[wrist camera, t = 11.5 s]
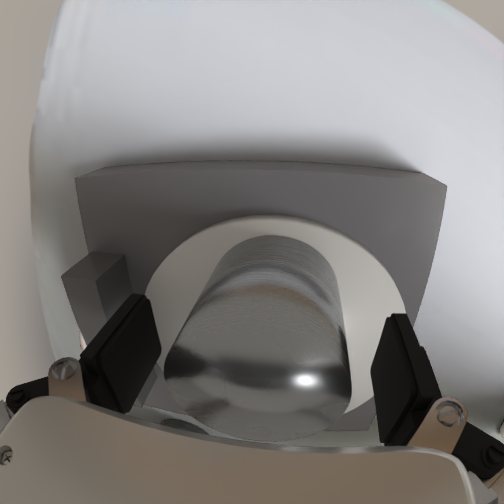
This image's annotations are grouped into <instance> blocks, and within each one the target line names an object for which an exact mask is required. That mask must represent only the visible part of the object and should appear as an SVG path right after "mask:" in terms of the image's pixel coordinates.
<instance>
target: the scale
mask: <svg viewBox="0 0 504 504" xmlns="http://www.w3.org/2000/svg"><path fill="white" fill-rule="evenodd" d="M75 182H76V189H77V196H78V202H79V207H80V213H81V218H82V224H83V229H84V233H85V238H86V243H87V247H88V251H89V254H88V255H87V256H86V257H84V258H83V259H82V260H81V261H79V262H78V263H77V264H75V265H74V266H73V267H72V268H70V269H69V270H68V271H67V272H65V273H64V274H63V275H62V276H61V278H62V281H63V284H64V287H65V290H66V293H67V296H68V299H69V302H70V305H71V307H72V310H73V313H74V316H75V318H76V321H77V323H78V326H79V329H80V332H79V335H80V343H81V345H80V346H81V348H82V349H83V351H84V349H85V348H86V347H87V346H88V344H89V343H90V342H91V341H92V339H93V338H94V337H95V336H96V335H97V333H98V332H99V331H100V330H101V329H102V327H103V326H104V325H105V324H106V323H107V321H108V320H109V319H110V318H111V317H112V315H113V314H114V313H115V312H116V311H117V310H118V308H119V307H120V306H121V305H122V304H123V303H124V301H125V300H126V299H127V298H128V297H129V296H130V295H131V294H132V293H135V294H143V295H146V297H147V299H149V300H150V302H151V306H152V310H153V315H154V319H155V323H156V327H157V331H158V335H159V339H160V343H161V347H162V351H161V355H160V357H159V359H158V360H157V362H156V364H155V366H154V368H153V369H152V371H151V373H150V375H149V377H148V378H147V380H146V382H145V384H144V386H143V388H142V389H141V391H140V393H139V395H138V397H137V399H136V400H135V402H134V404H133V405H135V406H138V407H142V406H143V404H144V405H147V406H151V407H155V408H159V409H163V410H167V411H171V412H175V413H180V414H184V415H189V414H188V413H187V412H186V411H185V410H184V409H183V408H182V407H181V406H180V405H179V404H178V403H177V402H176V401H175V399H174V398H173V397H172V395H171V393H170V392H169V390H168V388H167V385H166V383H165V378H164V363H165V359H166V357H167V354H168V352H169V350H170V349H171V347H172V345H173V343H174V341H175V339H176V338H177V336H178V334H179V332H180V330H181V328H182V327H183V325H184V323H185V321H186V319H187V318H188V316H189V314H190V312H191V310H192V308H193V307H194V305H195V303H196V301H197V299H198V298H199V296H200V294H201V292H202V290H203V289H204V287H205V285H206V283H207V282H208V280H209V278H210V276H211V274H212V273H213V271H214V269H215V267H216V266H217V264H218V262H219V261H220V259H221V258H222V257H223V256H224V254H225V253H226V252H227V251H228V250H230V249H231V248H232V247H233V246H235V245H237V244H238V243H240V242H242V241H245V240H247V239H250V238H254V237H257V236H264V235H279V236H286V237H291V238H294V239H297V240H300V241H302V242H304V243H306V244H308V245H310V246H312V247H313V248H314V249H316V250H317V251H319V252H320V253H321V254H322V255H323V256H324V257H325V258H326V260H327V261H328V262H329V263H330V265H331V267H332V269H333V270H334V273H335V275H336V278H337V282H338V287H339V293H340V299H341V306H342V312H343V319H344V326H345V333H346V340H347V348H348V356H349V364H350V373H351V382H352V396H351V400H350V403H349V405H348V407H347V409H346V411H345V412H344V413H343V415H342V416H341V417H340V418H339V419H338V420H337V421H336V422H334V423H333V424H332V425H330V426H329V427H327V428H326V429H324V430H322V431H360V430H368V428H369V426H370V424H371V422H372V420H373V418H374V417H375V415H376V406H375V400H374V393H373V387H372V381H371V375H370V369H371V365H372V362H373V359H374V356H375V353H376V350H377V347H378V344H379V340H380V337H381V334H382V331H383V327H384V324H385V320H386V318H387V317H390V316H391V314H392V313H406V314H407V315H408V318H409V320H410V322H411V325H412V327H413V326H414V323H415V320H416V317H417V314H418V311H419V308H420V305H421V301H422V298H423V295H424V291H425V288H426V285H427V281H428V277H429V274H430V270H431V266H432V262H433V258H434V254H435V250H436V245H437V241H438V236H439V231H440V226H441V221H442V216H443V210H444V204H445V198H446V191H447V185H445V184H443V183H441V182H439V181H438V180H436V179H434V178H432V177H430V176H428V175H426V174H424V173H417V172H410V171H402V170H394V169H385V168H376V167H366V166H355V165H343V164H329V163H313V162H291V161H190V162H168V163H152V164H138V165H126V166H115V167H105V168H102V169H99V170H96V171H93V172H90V173H88V174H85V175H82V176H80V177H77V178H75ZM189 416H191V415H189Z"/></svg>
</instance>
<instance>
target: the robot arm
mask: <svg viewBox="0 0 504 504" xmlns="http://www.w3.org/2000/svg"><path fill="white" fill-rule="evenodd" d="M161 351H162V347H161V343H160V339H159V335H158V331H157V327H156V323H155V319H154V315H153V310H152V306H151V302H150V300H149V299H147V297H146V295H143V294H135V293H132V294H131V295H130V296H129V297H128V298H127V299H126V300H125V301H124V303H123V304H122V305H121V306H120V307H119V308H118V310H117V311H116V312H115V313H114V314H113V315H112V317H111V318H110V319H109V320H108V321H107V323H106V324H105V325H104V326H103V327H102V329H101V330H100V331H99V332H98V333H97V335H96V336H95V337H94V338H93V339H92V341H91V342H90V343H89V344H88V346H87V347H86V348H85V349H84V351H83V352H82V353H81V354H80V357H81V358H80V359H79V361H78V360H77V359H74V358H71V357H66V358H62V359H59V360H57V361H56V362H54V363H53V364H52V365H51V367H50V369H49V372H48V376H47V377H44V378H41V379H38V380H34V381H31V382H28V383H24V384H21V385H18V386H15V387H14V388H12V389H11V390H10V392H9V393H8V395H7V397H6V402H4V401H3V400H1V401H0V504H504V444H503V443H501V442H500V441H499V440H497V439H495V438H493V437H492V436H490V435H488V434H487V433H485V432H483V431H482V430H480V429H478V428H477V427H475V426H473V425H472V424H470V423H468V422H467V417H468V415H467V410H466V408H465V406H464V405H463V404H462V403H461V402H460V401H458V400H457V399H454V398H452V397H444V398H442V395H441V392H440V389H439V387H438V384H437V381H436V378H435V375H434V372H433V370H432V367H431V364H430V361H429V359H428V356H427V354H426V351H425V349H424V347H422V346H420V345H419V342H418V340H417V337H416V335H415V332H414V330H413V327H412V325H411V322H410V320H409V318H408V315H407V314H406V313H392V314H391V316H390V317H387V318H386V320H385V324H384V327H383V331H382V334H381V337H380V340H379V344H378V347H377V350H376V353H375V356H374V359H373V362H372V365H371V369H370V375H371V381H372V387H373V393H374V400H375V406H376V414H377V421H378V429H379V437H380V442H381V443H384V445H385V446H377V447H305V446H288V445H276V444H266V443H256V442H248V441H241V440H234V439H227V438H221V437H215V436H210V435H204V434H199V433H194V432H190V431H185V430H181V429H176V428H172V427H168V426H164V425H160V424H156V423H152V422H149V421H145V420H142V419H138V418H135V417H132V416H128V415H125V413H128V412H129V411H130V410H131V408H132V406H133V404H134V402H135V400H136V399H137V397H138V395H139V393H140V391H141V389H142V388H143V386H144V384H145V382H146V380H147V378H148V377H149V375H150V373H151V371H152V369H153V368H154V366H155V364H156V362H157V360H158V359H159V357H160V355H161ZM500 433H501V436H502V438H504V422H503V424H502V426H501V428H500Z"/></svg>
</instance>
